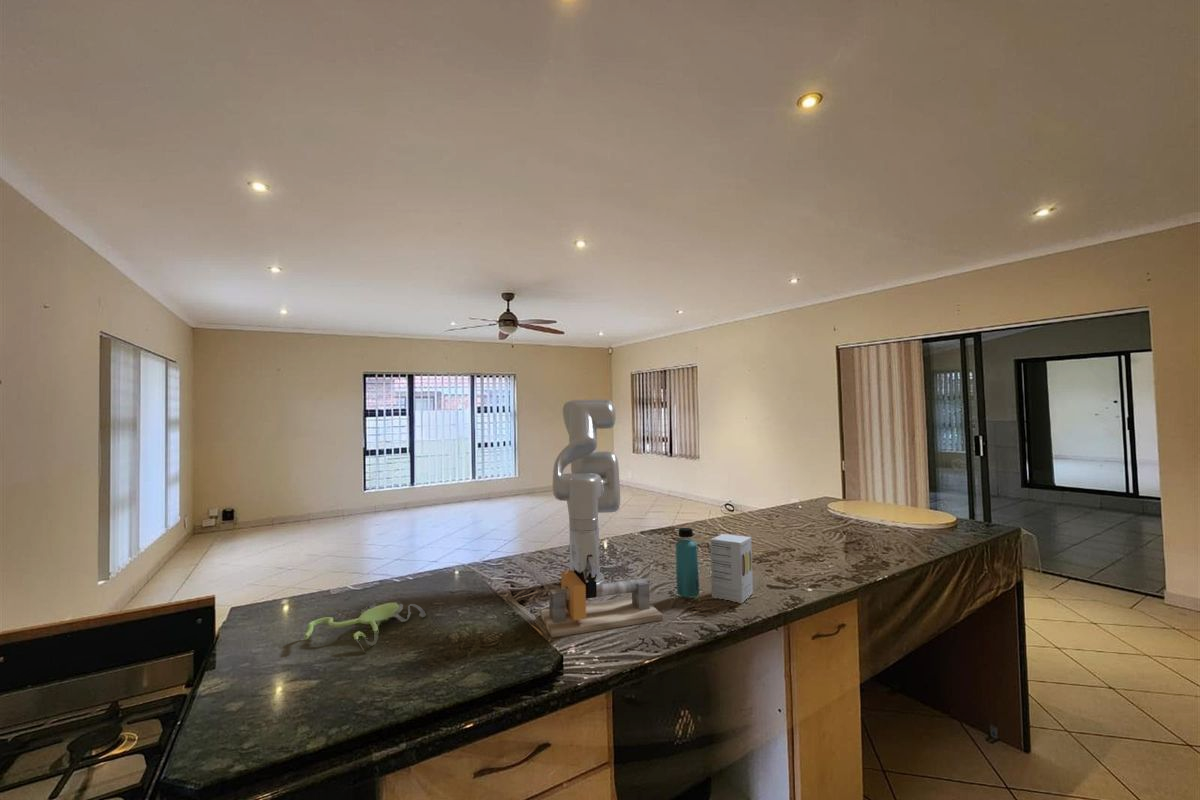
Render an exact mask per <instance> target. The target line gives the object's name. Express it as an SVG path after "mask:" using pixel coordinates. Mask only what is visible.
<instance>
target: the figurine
mask: <svg viewBox="0 0 1200 800" xmlns="http://www.w3.org/2000/svg"><path fill="white" fill-rule="evenodd" d="M397 603H398V602H386V603H383V604H379V605H377V606H375V607H373V608H371V609H368V610H367V611H365V612H363V613H362V614H361V615H360V614H359V617H358V618H353V619H349V620H343V621H338V622H336V621H334V617H332V616H331V617H330V616H328V617H327V616H325V617H321V618H317V619H315V620H312V621H310V622H309V623H307V625H306V626H307V631H306V632H305V634H303V639H304V640H305V641H306V640H307V639H309V638H310V637H311V635H312V633H313V631H314V630H315V629H314V627H315V626H317V625H320V624H324V623H327V626H328V627H330V628H335V629H339V628H344V627H348V626H353V625H356V624H363V625H370V627H371V628H372V632H373V631H377V630H378V631H379V627H378V626H377V624H376V623H378V622H381V621H382V622H384V621H383V620H385V619H387V618H389V617H390V616H392V615H393V614H394V613H395V612H396V611H397V610H398V608H399V605H398V604H397ZM352 635H353V639H354V640H355V639H356V640H357V639H359V637H361V636H363V637H367V636H366V634H365V633H364V632H362V631H359V630H358V631H357V632H354V633H353V634H352ZM363 637H362V638H363Z"/></svg>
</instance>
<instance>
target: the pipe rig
mask: <svg viewBox="0 0 1200 800" xmlns="http://www.w3.org/2000/svg"><path fill="white" fill-rule="evenodd" d="M596 587H597V596H596V597H595V598H600V597H608V596H613V595H623V594H629V593H631V596H630V597H629V596H627V597H621V598H616V599H608V600H607V599H606V600H600V601H593V602H592V601H591V602H586V619H581V620H574V619H573V618H572V616H571V615H570V613H569V612H568V610H567V609H566V607H565V601H569V589H568V588H566V589H562V587H559V588H552V589H551V588H550V589H549V590H548V591H549V592H548V594H549V595H548V596H549V597H548V598H549V603H548V604H549V608H542V609H540V613H539V614H540V617H541V620H542V621H543V623H544V626H545V627H546V629H547V631H548V633H549V635H550V637H551V639H552V638H558V637H559V638H560V637H566V636H572V635H579V634H584V633H589V632H596V631H597V632H598V631H602V630H604V631H605V630H609V629H615V628H616V629H617V628H621V627H622V628H623V627H627V626H633V625H634V626H635V625H640V624H647V623H652V622H658V621H659V622H660V621H663V613H661V611H659V610H658V609H657V608H656V607H655V606H653V604H651V603H650V602H651V601H650V600H651V599H650V583H649V582H648V581H647V579H646V578H643V577H637V578H631V580H630V579H629V580H623V581H615V582H608V583H605V582H604V583H603V584H597V585H596Z"/></svg>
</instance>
